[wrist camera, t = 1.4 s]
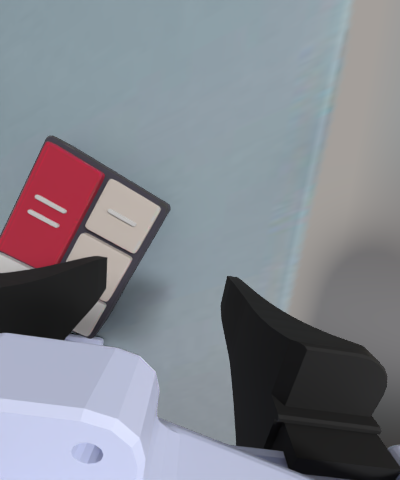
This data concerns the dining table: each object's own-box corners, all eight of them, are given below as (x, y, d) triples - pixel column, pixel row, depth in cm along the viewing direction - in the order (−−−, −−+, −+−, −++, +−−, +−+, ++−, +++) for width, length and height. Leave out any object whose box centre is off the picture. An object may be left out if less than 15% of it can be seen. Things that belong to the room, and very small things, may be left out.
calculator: (169, 206, 16) (88, 347, 17) (173, 206, 20) (107, 319, 22) (40, 128, 14) (-37, 292, 16) (74, 146, 18) (10, 274, 20)
